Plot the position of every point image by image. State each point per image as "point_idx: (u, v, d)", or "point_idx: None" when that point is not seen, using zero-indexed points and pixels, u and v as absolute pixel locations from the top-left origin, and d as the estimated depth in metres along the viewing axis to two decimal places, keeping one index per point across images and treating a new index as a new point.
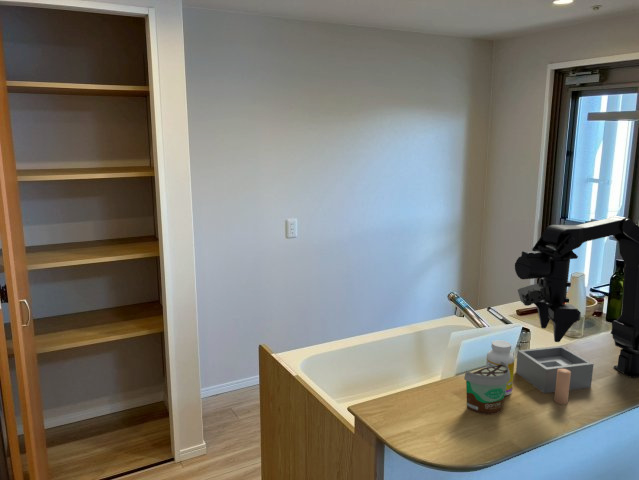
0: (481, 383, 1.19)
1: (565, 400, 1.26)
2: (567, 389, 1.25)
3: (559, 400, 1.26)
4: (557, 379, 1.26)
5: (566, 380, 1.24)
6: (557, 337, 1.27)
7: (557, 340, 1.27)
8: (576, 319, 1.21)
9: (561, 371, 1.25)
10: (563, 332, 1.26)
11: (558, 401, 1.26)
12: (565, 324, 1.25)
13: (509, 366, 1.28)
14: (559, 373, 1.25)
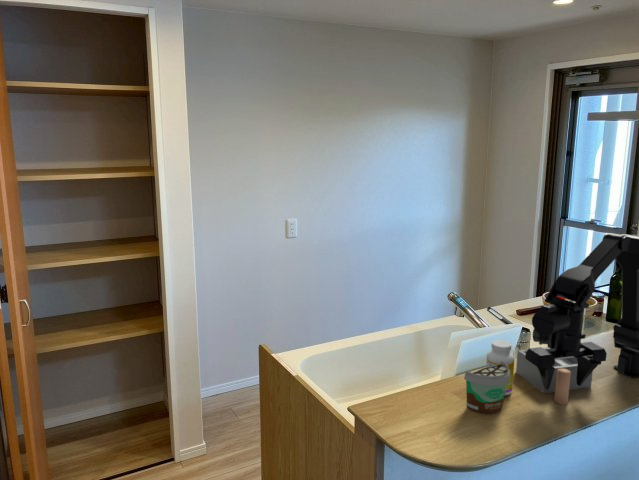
0: (481, 383, 1.19)
1: (565, 400, 1.26)
2: (567, 389, 1.25)
3: (559, 400, 1.26)
4: (557, 379, 1.26)
5: (566, 380, 1.24)
6: (544, 383, 1.25)
7: (545, 387, 1.25)
8: (537, 365, 1.21)
9: (561, 371, 1.25)
10: (545, 380, 1.24)
11: (558, 401, 1.26)
12: (545, 372, 1.23)
13: (509, 366, 1.28)
14: (559, 373, 1.25)
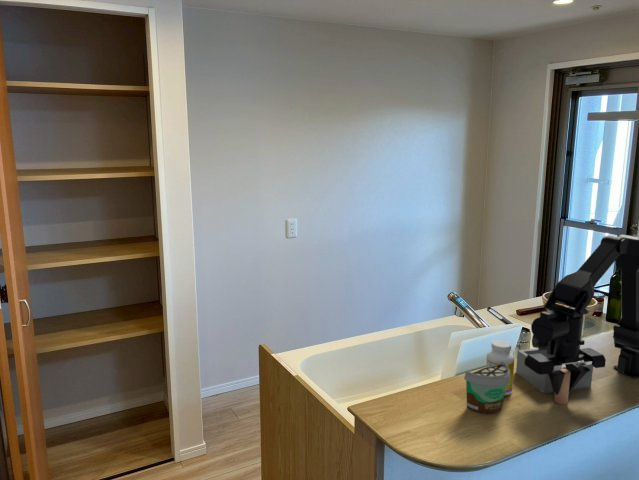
0: (481, 383, 1.19)
1: (565, 400, 1.26)
2: (567, 389, 1.25)
3: (559, 400, 1.26)
4: None
5: (566, 380, 1.24)
6: (553, 388, 1.26)
7: (554, 391, 1.26)
8: (536, 371, 1.21)
9: None
10: (555, 384, 1.25)
11: (558, 401, 1.26)
12: None
13: (509, 366, 1.28)
14: None
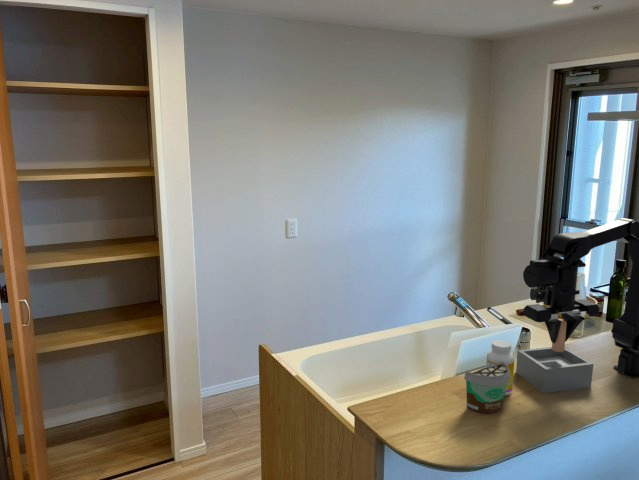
0: (481, 383, 1.19)
1: (562, 348, 1.33)
2: (564, 337, 1.32)
3: (556, 348, 1.33)
4: None
5: (562, 328, 1.32)
6: (551, 337, 1.33)
7: (552, 340, 1.33)
8: (534, 319, 1.28)
9: None
10: (553, 333, 1.32)
11: (555, 349, 1.33)
12: (552, 325, 1.31)
13: (509, 366, 1.28)
14: None
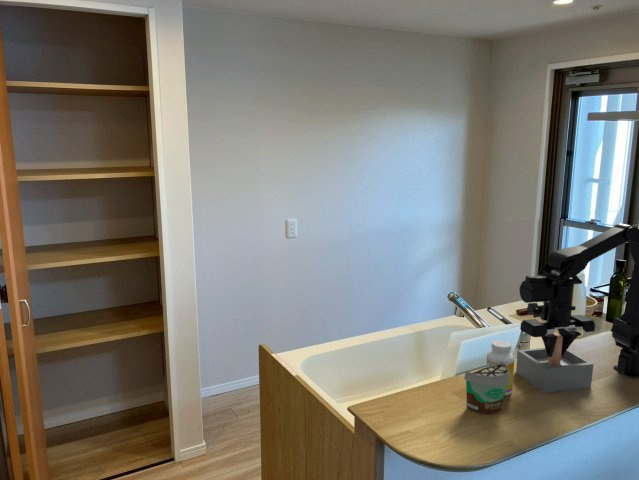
0: (481, 383, 1.19)
1: (558, 362, 1.36)
2: (559, 352, 1.35)
3: (552, 362, 1.36)
4: None
5: (558, 343, 1.35)
6: (547, 351, 1.36)
7: (548, 354, 1.36)
8: (530, 334, 1.31)
9: None
10: (549, 348, 1.35)
11: (551, 363, 1.36)
12: (549, 340, 1.34)
13: (509, 366, 1.28)
14: None
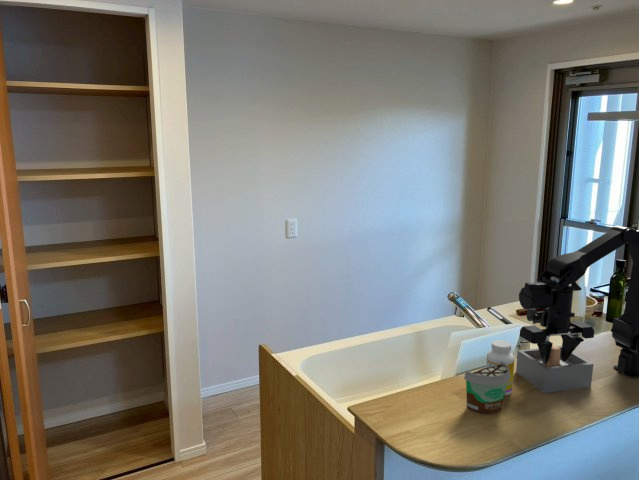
0: (481, 383, 1.19)
1: None
2: (558, 364, 1.36)
3: None
4: None
5: (556, 356, 1.35)
6: (542, 358, 1.36)
7: (543, 361, 1.37)
8: (530, 341, 1.32)
9: (552, 348, 1.36)
10: (544, 354, 1.35)
11: None
12: (544, 347, 1.34)
13: (509, 366, 1.28)
14: None
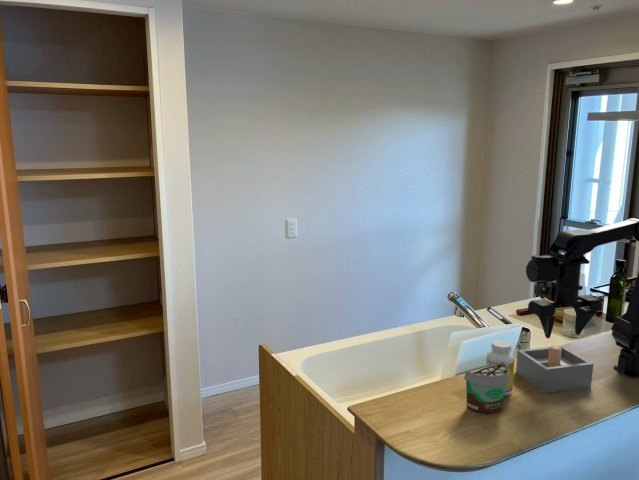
0: (481, 383, 1.19)
1: None
2: (558, 364, 1.36)
3: None
4: (549, 355, 1.37)
5: (557, 356, 1.35)
6: (545, 332, 1.36)
7: (546, 336, 1.37)
8: (538, 314, 1.32)
9: (552, 348, 1.36)
10: (547, 329, 1.35)
11: None
12: (546, 321, 1.34)
13: (509, 366, 1.28)
14: (551, 350, 1.36)
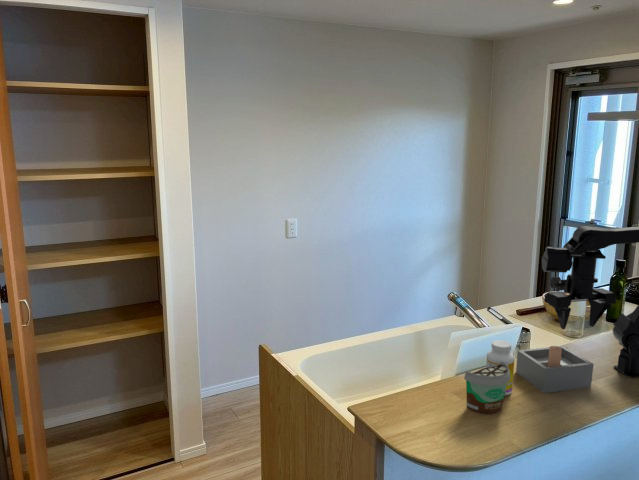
0: (481, 383, 1.19)
1: None
2: (558, 364, 1.36)
3: None
4: (549, 355, 1.37)
5: (557, 355, 1.35)
6: (560, 323, 1.42)
7: (561, 327, 1.42)
8: (555, 305, 1.38)
9: (553, 348, 1.36)
10: (562, 320, 1.40)
11: None
12: (562, 312, 1.40)
13: (509, 366, 1.28)
14: (551, 350, 1.36)
